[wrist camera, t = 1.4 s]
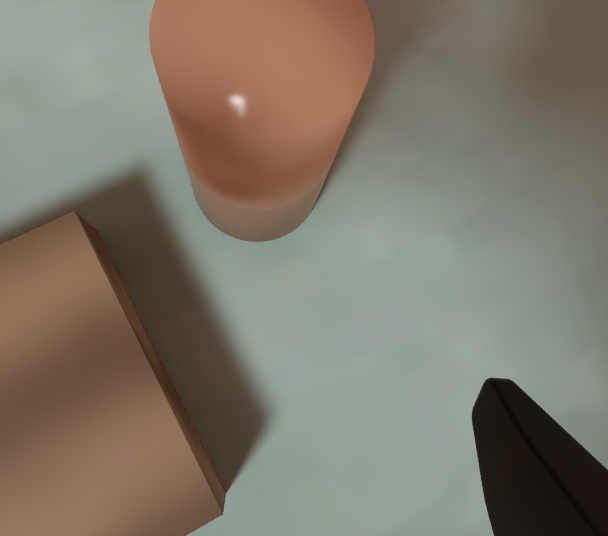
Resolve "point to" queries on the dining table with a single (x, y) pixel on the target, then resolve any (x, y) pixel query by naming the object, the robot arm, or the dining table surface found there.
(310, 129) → the terracotta cylinder
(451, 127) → the dining table surface
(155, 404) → the walnut plinth
